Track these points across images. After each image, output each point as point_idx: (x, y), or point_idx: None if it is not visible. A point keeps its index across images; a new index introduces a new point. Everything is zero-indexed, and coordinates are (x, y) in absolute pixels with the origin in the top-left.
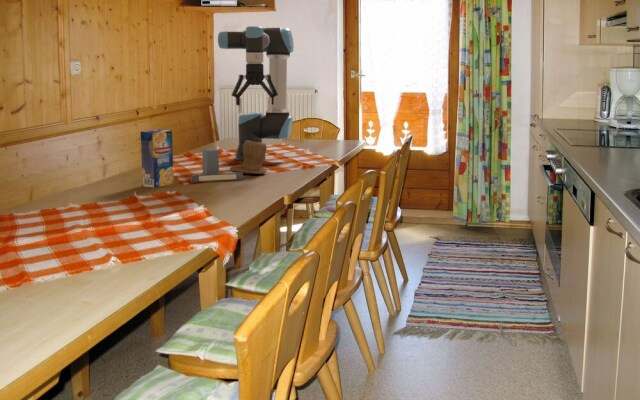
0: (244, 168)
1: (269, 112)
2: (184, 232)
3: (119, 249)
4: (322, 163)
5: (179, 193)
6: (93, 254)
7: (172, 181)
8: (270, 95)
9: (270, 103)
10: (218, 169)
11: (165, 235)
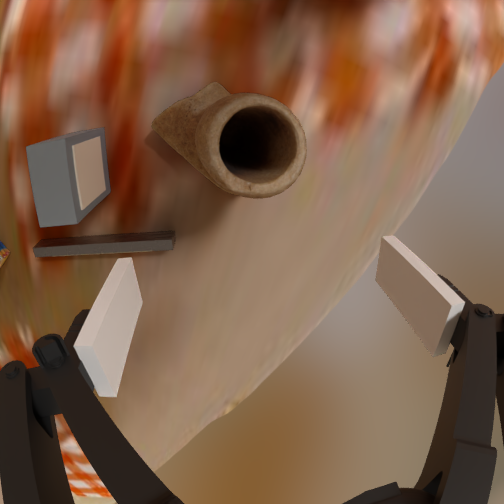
0: (198, 156)
1: (377, 269)
2: (97, 477)
3: None
4: (481, 49)
5: None
6: None
7: (6, 257)
8: (450, 365)
9: (411, 321)
10: (100, 200)
11: (84, 477)
